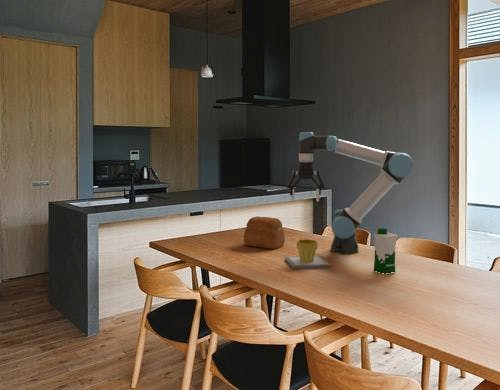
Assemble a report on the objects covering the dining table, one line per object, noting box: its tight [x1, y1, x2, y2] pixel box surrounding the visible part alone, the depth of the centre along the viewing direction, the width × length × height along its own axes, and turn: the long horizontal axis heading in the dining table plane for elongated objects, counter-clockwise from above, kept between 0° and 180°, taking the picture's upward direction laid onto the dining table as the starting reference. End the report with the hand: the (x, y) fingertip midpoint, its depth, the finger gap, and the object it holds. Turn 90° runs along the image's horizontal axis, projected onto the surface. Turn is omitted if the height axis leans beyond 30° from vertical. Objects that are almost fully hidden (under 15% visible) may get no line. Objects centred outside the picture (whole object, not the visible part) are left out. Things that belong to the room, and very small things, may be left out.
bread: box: [243, 216, 286, 250], centre depth 261 cm, size 18×21×17 cm
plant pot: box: [296, 238, 319, 262], centre depth 222 cm, size 10×10×10 cm
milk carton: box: [373, 227, 398, 274], centre depth 207 cm, size 9×9×20 cm
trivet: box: [284, 255, 331, 270], centre depth 223 cm, size 18×18×2 cm
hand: (305, 201), depth 239 cm, fingers open, 13 cm apart
